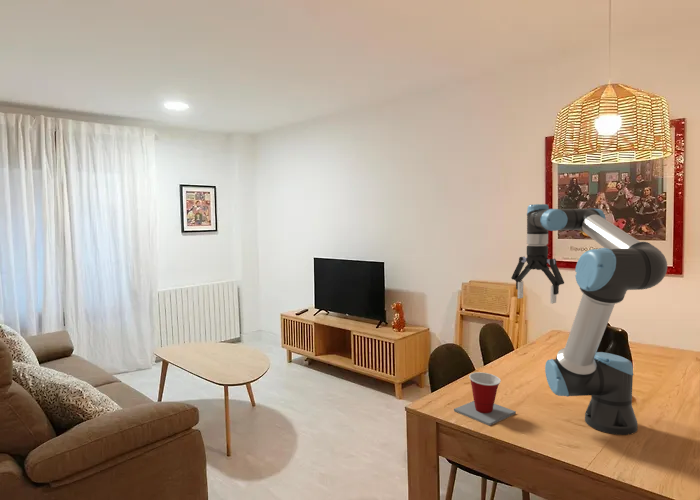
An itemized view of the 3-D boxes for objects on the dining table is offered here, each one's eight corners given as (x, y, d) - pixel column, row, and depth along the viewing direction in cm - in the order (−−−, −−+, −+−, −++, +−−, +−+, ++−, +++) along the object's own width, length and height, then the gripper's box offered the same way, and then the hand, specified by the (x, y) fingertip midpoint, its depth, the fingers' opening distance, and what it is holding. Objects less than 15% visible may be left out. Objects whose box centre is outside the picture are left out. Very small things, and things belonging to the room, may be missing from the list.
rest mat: (515, 413, 162) (515, 411, 162) (489, 425, 153) (489, 423, 153) (480, 400, 174) (480, 398, 174) (453, 411, 165) (453, 408, 165)
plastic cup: (492, 419, 156) (492, 384, 155) (463, 411, 163) (463, 377, 162) (505, 409, 164) (506, 376, 163) (477, 401, 171) (477, 369, 170)
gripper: (574, 246, 168) (573, 303, 169) (513, 243, 187) (513, 295, 189) (564, 247, 163) (563, 306, 165) (502, 244, 183) (502, 297, 184)
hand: (536, 300), depth 177 cm, fingers open, 13 cm apart
